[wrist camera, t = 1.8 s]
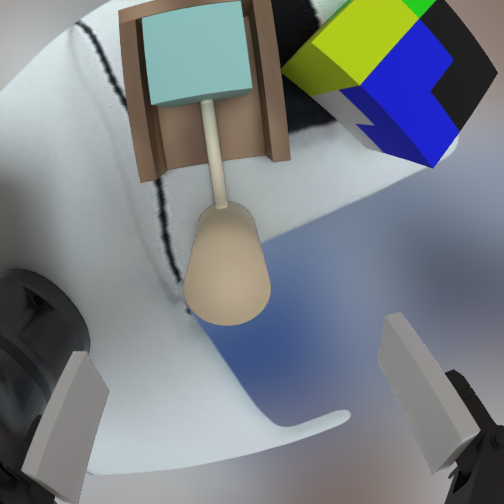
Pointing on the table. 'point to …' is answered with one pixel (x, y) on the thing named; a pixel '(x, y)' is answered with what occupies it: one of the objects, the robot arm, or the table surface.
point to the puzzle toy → (395, 74)
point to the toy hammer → (210, 152)
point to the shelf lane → (189, 116)
